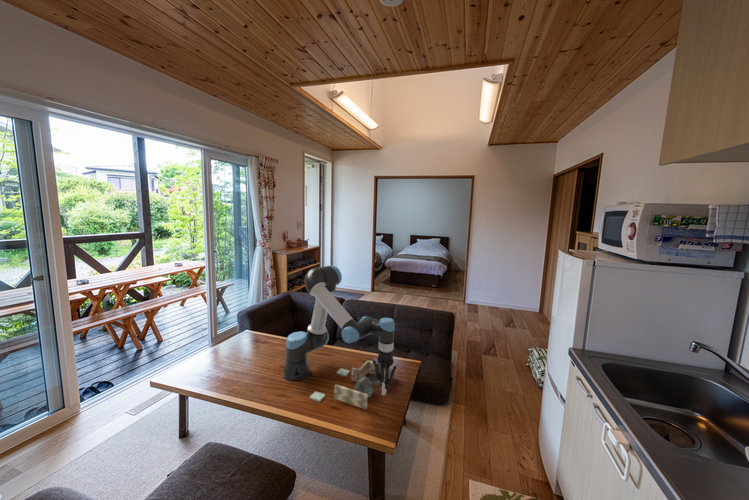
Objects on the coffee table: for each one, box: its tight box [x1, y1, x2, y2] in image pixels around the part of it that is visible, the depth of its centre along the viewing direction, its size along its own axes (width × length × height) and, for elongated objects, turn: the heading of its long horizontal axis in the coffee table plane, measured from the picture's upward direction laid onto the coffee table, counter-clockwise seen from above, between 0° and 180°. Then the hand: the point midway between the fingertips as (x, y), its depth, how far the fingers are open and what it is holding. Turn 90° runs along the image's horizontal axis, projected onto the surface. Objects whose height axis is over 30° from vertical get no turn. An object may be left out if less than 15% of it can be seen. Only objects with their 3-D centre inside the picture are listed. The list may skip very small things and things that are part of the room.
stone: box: [353, 376, 374, 399], centre depth 149 cm, size 10×10×10 cm
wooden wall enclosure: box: [333, 360, 392, 410], centre depth 156 cm, size 19×32×7 cm, turn 156°
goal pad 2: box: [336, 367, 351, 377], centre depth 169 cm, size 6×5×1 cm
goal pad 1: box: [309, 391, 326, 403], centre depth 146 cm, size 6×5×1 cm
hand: (383, 393), depth 145 cm, fingers closed
